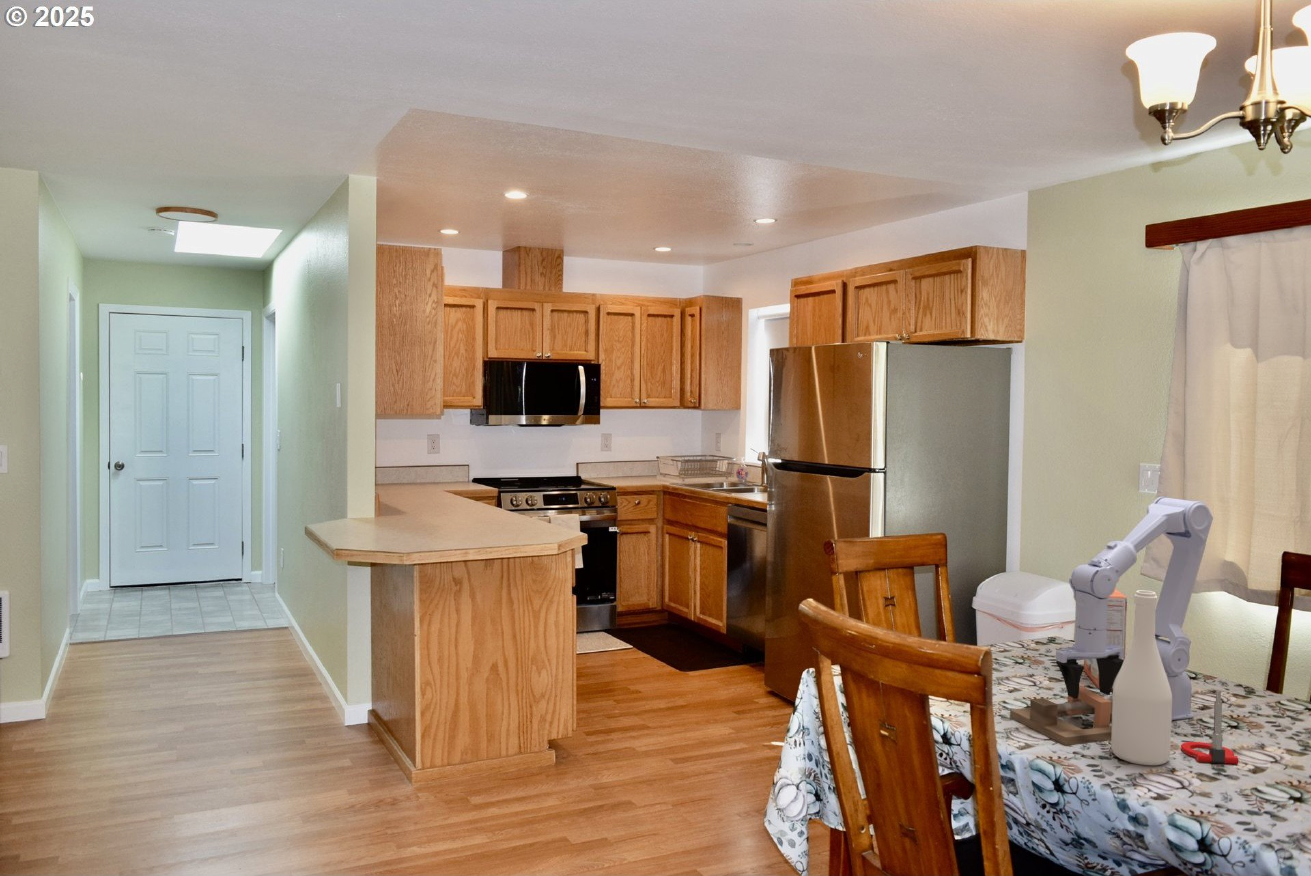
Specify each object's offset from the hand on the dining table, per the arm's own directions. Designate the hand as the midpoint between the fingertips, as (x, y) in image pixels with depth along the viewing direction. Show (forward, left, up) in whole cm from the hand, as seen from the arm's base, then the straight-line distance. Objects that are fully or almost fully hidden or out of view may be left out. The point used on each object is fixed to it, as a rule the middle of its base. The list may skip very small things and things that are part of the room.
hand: (1088, 695), depth 193 cm
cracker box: (-24, -23, -6) cm, 34 cm away
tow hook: (-10, +19, -6) cm, 22 cm away
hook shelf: (0, 0, -6) cm, 6 cm away
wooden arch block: (0, 0, -5) cm, 5 cm away
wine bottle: (+3, +17, -6) cm, 18 cm away
